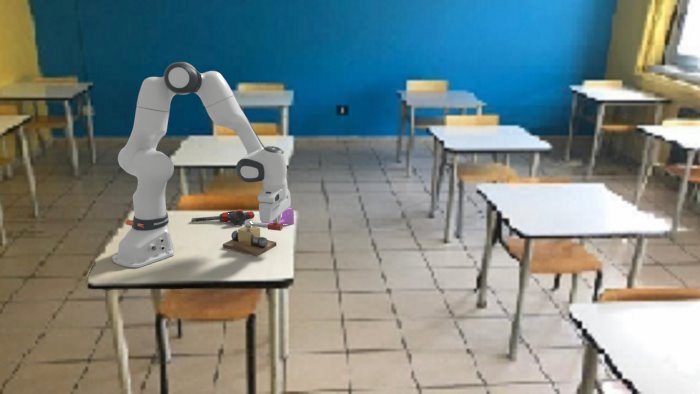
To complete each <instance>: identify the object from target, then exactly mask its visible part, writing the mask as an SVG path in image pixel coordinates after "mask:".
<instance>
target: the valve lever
mask: <svg viewBox="0 0 700 394" xmlns="http://www.w3.org/2000/svg"><path fill="white" fill-rule="evenodd" d="M244 226H245V227H246V228H251V227H252V226H254V227H258V228H264V229H267V230H268V231H269V230H270V231H280V232H281V231H282V230H283V228H284V227H283V226H284V225H283V224H278V223H269V224H265V223H261V222H255V221H253V220H252V219H248V220H245V223H244Z"/></svg>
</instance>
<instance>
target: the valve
mask: <svg viewBox="0 0 700 394" xmlns="http://www.w3.org/2000/svg"><path fill="white" fill-rule="evenodd" d="M228 213H229V214H228ZM254 218H255V213H254V212H253V211H244V210H243V209H236V210H232V211H231V210H230V211H226V212H225V211H224V212H222V213H220V214H219V215H217V216H216V215H214V216H203V217H192V218H191V219H190V220H191V223H196V222H197V223H198V222H207V221H220V222H221V223H223V222H225V223H229V222H230V223H231V224H232V225H233V226H234V225H239V226H243V225H245V221H246V220H252V219H254Z"/></svg>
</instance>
